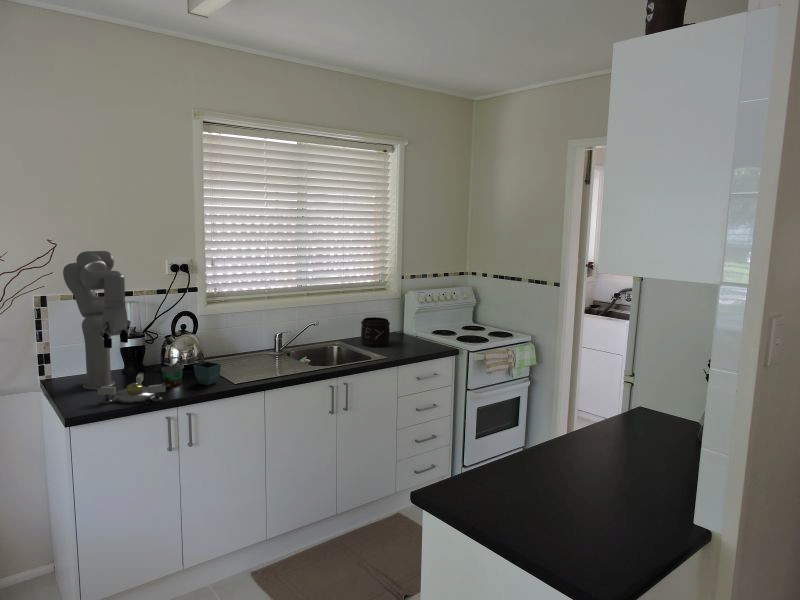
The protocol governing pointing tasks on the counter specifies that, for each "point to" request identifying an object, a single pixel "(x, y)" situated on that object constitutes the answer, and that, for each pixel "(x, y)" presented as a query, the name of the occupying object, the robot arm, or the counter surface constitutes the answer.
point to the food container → (172, 374)
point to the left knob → (139, 378)
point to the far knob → (157, 389)
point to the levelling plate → (132, 395)
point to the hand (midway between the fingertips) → (116, 345)
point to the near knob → (106, 391)
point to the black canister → (375, 332)
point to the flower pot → (207, 372)
